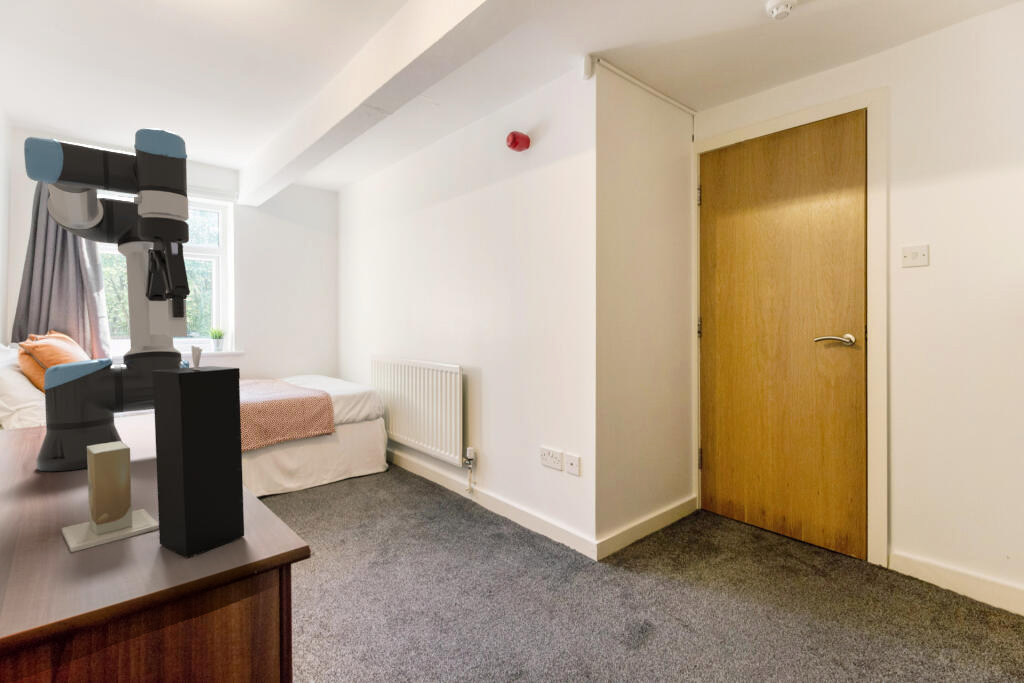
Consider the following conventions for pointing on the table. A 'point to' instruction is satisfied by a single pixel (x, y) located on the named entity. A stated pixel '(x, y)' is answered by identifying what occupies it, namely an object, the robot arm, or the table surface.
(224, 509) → the tissue box
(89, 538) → the coaster
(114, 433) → the robot arm
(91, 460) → the skincare box
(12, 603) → the table surface
